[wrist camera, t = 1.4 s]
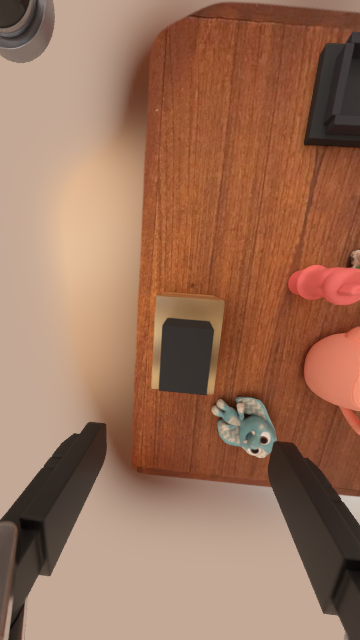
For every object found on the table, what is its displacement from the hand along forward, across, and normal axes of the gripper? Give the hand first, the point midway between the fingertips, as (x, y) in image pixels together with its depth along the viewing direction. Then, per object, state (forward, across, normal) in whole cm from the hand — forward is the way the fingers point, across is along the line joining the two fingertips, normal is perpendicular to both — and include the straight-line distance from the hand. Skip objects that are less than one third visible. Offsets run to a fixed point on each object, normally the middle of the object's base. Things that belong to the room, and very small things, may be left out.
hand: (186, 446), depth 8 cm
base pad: (+23, -21, -33) cm, 46 cm away
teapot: (+23, -26, +3) cm, 35 cm away
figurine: (+24, -18, -9) cm, 31 cm away
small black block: (+13, 0, 0) cm, 13 cm away
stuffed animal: (+23, -11, +16) cm, 31 cm away
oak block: (+23, 0, 0) cm, 23 cm away
